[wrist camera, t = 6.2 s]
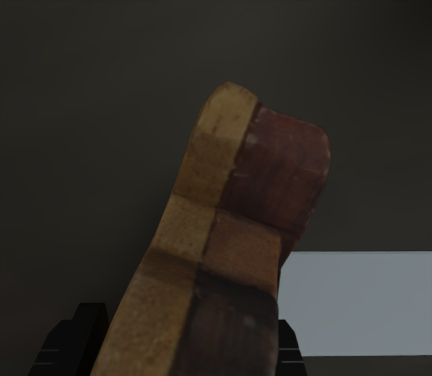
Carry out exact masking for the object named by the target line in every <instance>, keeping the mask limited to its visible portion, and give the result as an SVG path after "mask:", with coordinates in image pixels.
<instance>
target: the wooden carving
mask: <svg viewBox="0 0 432 376" xmlns="http://www.w3.org/2000/svg"><path fill="white" fill-rule="evenodd" d="M331 152H332V151H331V147H330V143H329V138H328V135H327V133H326V132H325V130H324V128H322V127H320V126H317V125H314V124H311V123H309V122H306V121H303V120H301V119H298V118H295V117H293V116H290V115H287V114H284V113H281V112H278V111H274V110H271V109H270V108H268V107H267V106H265V105H264V104H262V103H261V102H259V100H258V98H257V96H256V95H255V94H254V93H253V92H251V91H249V90H247V89H246V88H244V87H242V86H239V85H237V84H235V83H232V82H230V81H228V82H226V83H224V84H221V85H219V86H218V87H217V88H216V90H215V91H214V92H213V93H212V94H211V96H210V97H209V98H208V99H207V101H206V102H205V103H204V105H203V106H202V107H201V109H200V112H199V114H198V117H197V119H196V122H195V125H194V127H193V130H192V132H191V135H190V138H189V141H188V144H187V147H186V150H185V153H184V156H183V159H182V162H181V166H180V169H179V172H178V175H177V178H176V181H175V184H174V187H173V190H172V193H171V195H170V198H169V200H168V203H167V205H166V208H165V210H164V213H163V215H162V218H161V220H160V223H159V225H158V228H157V230H156V232H155V234H154V237H153V239H152V241H151V244H150V246H149V248H148V250H147V251H146V253H145V255H144V256H143V258H142V260H141V262H140V263H139V265H138V267H137V269H136V271H135V273H134V275H133V277H132V279H131V281H130V283H129V285H128V287H127V290H126V292H125V294H124V296H123V298H122V300H121V302H120V304H119V307H118V309H117V311H116V313H115V315H114V318H113V320H112V322H111V324H110V327H109V329H108V332H107V334H106V336H105V339H104V341H103V344H102V346H101V349H100V351H99V354H98V356H97V358H96V361H95V363H94V366H93V368H92V371H91V374H90V376H275V370H276V364H277V359H278V353H279V350H278V319H279V308H278V303H277V302H276V300H277V275H278V273H279V271H280V270H281V268H282V266H283V265H284V263H285V262H286V260H287V259H288V257H289V255H290V254H291V252H292V250H293V249H294V247H295V245H296V244H297V242H298V240H299V239H300V237H301V235H302V234H303V232H304V230H305V228H306V226H307V224H308V222H309V220H310V218H311V217H312V215H313V213H314V211H315V209H316V206H317V204H318V201H319V199H320V197H321V194H322V192H323V189H324V187H325V183H326V179H327V175H328V171H329V165H330V158H331Z"/></svg>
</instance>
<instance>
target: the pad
mask: <svg viewBox="0 0 432 376" xmlns="http://www.w3.org/2000/svg"><path fill="white" fill-rule="evenodd" d="M276 302H277V303H278V308H279V319H285V320H286V321H287V323H288V324H289V325H290V326H291V328H292V329H293V330H294V332H295V334H296V338H297V341H298V345H299V350H300V352H301V356H363V355H432V251H415V252H291V254H290V255H289V257H288V259H287V260H286V262H285V263H284V265H283V266H282V268H281V270H280V276H279V284H278V293H277V301H276Z"/></svg>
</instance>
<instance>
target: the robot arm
mask: <svg viewBox="0 0 432 376" xmlns="http://www.w3.org/2000/svg"><path fill="white" fill-rule="evenodd" d="M108 329H109V323H108V317H107V311H106V305H105V303H80V304H79V306H78V308H77V310H76V312H75V314H74V317H73V319H72V320H61V321H60V322H59V323H58V324H57V325H56V326H55V327H54V328H53V330H52V331H51V332H50V333H49V334H48V336H47V338H46V340H45V342H44V344H43V346H42V348H41V352H39V354H38V356H37V358H36V360H35V364H34V365H33V366H32V368H31V370H30V372H29V374H28V376H90V374H91V371H92V368H93V366H94V363H95V361H96V358H97V356H98V354H99V351H100V349H101V346H102V344H103V341H104V339H105V336H106V334H107V332H108ZM278 350H279V353H278V359H277V364H276V370H275V376H307V373H306V370H305V366H304V364H303V359H302V356H301V352H300V350H299V345H298V341H297V338H296V334H295V332H294V330H293V329H292V328H291V326H290V325H289V324H288V323H287V321H286V320H285V319H278Z"/></svg>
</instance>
